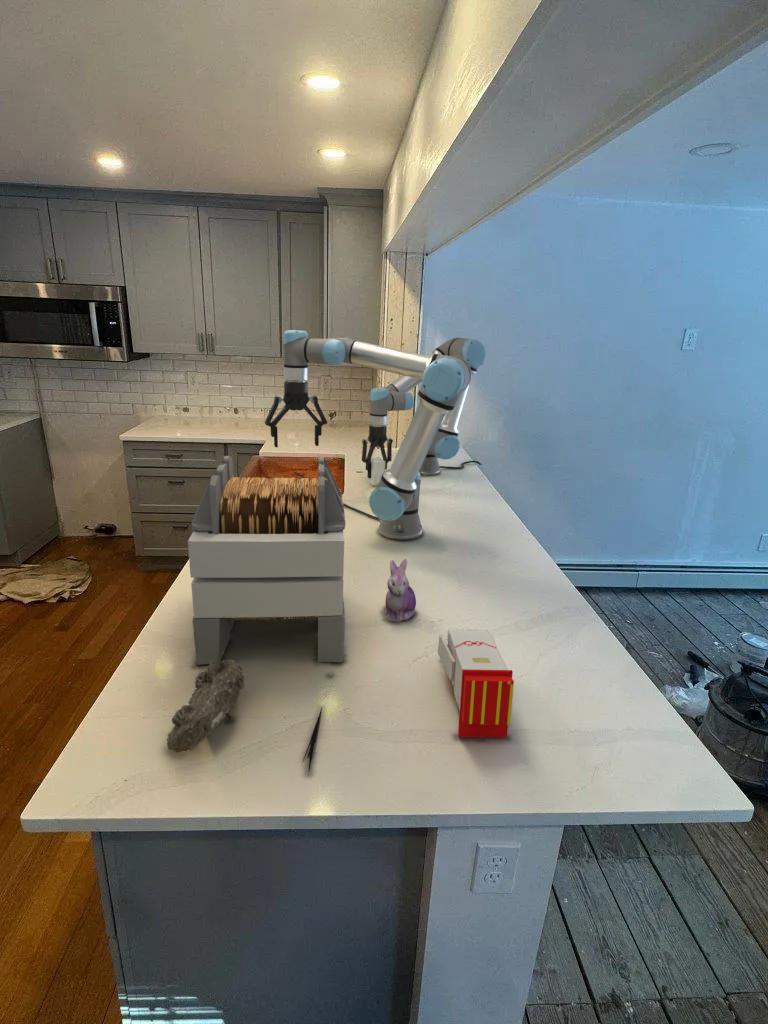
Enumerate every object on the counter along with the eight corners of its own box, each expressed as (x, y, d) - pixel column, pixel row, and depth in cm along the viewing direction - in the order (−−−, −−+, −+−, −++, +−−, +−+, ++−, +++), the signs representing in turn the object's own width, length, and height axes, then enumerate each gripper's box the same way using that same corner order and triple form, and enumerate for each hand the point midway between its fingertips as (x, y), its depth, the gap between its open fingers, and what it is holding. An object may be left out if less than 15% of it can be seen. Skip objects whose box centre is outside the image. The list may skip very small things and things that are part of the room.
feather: (331, 679, 122) (336, 673, 122) (307, 777, 96) (313, 769, 95) (324, 675, 122) (329, 669, 121) (298, 772, 95) (304, 764, 95)
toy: (488, 613, 130) (523, 677, 101) (484, 667, 133) (517, 744, 104) (435, 612, 130) (455, 676, 101) (432, 666, 133) (451, 743, 103)
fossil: (192, 660, 117) (244, 628, 112) (224, 691, 120) (276, 661, 115) (142, 746, 98) (202, 712, 93) (182, 779, 101) (242, 748, 96)
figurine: (392, 627, 141) (395, 572, 136) (374, 608, 149) (376, 556, 144) (425, 619, 145) (429, 566, 140) (405, 601, 154) (408, 550, 149)
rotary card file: (219, 592, 154) (209, 445, 140) (339, 591, 158) (342, 448, 144) (193, 667, 122) (178, 487, 108) (344, 663, 126) (348, 488, 112)
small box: (384, 484, 249) (385, 461, 245) (372, 485, 247) (373, 462, 244) (378, 479, 256) (379, 456, 252) (367, 480, 254) (367, 457, 251)
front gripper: (331, 379, 189) (330, 442, 196) (254, 379, 181) (257, 444, 188) (336, 382, 182) (335, 447, 189) (257, 382, 174) (259, 449, 181)
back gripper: (395, 423, 249) (393, 473, 257) (354, 423, 243) (353, 475, 251) (401, 426, 242) (398, 478, 250) (359, 427, 237) (358, 480, 244)
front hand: (296, 445), depth 189 cm, fingers open, 13 cm apart
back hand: (376, 477), depth 251 cm, fingers open, 6 cm apart
